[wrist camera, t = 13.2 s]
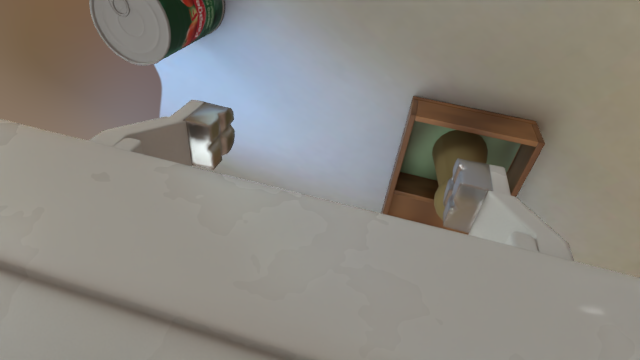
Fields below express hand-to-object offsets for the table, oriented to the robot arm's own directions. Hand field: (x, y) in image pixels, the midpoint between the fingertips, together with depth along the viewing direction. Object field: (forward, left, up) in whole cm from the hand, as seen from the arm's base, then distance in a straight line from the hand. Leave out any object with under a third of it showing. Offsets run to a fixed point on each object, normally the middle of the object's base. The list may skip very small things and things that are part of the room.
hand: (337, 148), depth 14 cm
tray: (-10, +20, -30) cm, 38 cm away
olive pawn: (-10, +15, -29) cm, 35 cm away
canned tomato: (+23, +4, -30) cm, 38 cm away
